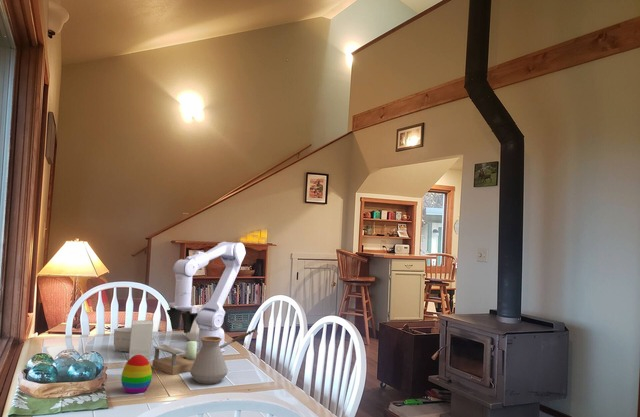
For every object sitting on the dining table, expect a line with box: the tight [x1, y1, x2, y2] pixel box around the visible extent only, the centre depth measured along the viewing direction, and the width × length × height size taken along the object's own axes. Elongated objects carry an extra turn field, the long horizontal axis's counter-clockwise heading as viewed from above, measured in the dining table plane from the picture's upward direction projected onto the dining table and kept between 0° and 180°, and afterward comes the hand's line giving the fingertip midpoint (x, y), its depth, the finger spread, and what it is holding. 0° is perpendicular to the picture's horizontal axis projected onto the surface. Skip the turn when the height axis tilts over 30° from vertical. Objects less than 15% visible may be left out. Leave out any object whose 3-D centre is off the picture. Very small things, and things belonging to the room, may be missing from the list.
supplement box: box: [128, 319, 154, 361], centre depth 175 cm, size 7×7×13 cm
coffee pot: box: [189, 328, 259, 385], centre depth 155 cm, size 21×12×15 cm, turn 121°
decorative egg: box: [120, 355, 153, 394], centre depth 139 cm, size 8×8×10 cm
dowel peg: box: [185, 340, 198, 360], centre depth 167 cm, size 3×3×8 cm
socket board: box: [151, 344, 199, 376], centre depth 166 cm, size 18×12×7 cm, turn 140°
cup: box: [185, 304, 204, 342], centre depth 209 cm, size 13×13×14 cm
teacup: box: [113, 327, 131, 352], centre depth 184 cm, size 14×11×8 cm
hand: (180, 330), depth 176 cm, fingers open, 7 cm apart
